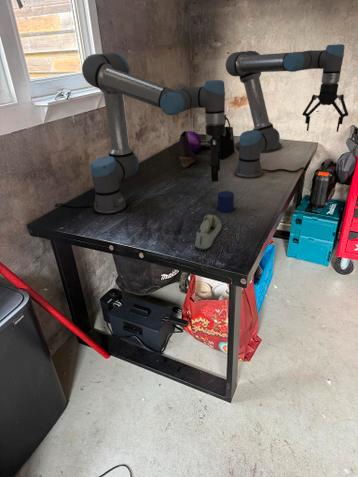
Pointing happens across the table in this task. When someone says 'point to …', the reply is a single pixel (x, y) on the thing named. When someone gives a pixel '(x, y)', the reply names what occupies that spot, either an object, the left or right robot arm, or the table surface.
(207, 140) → the pair of gloves
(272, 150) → the miniature village
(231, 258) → the table surface
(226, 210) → the canister
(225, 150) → the handbag
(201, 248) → the ballet flat
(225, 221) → the table surface
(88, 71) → the left robot arm
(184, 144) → the boot
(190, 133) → the decorative orb
